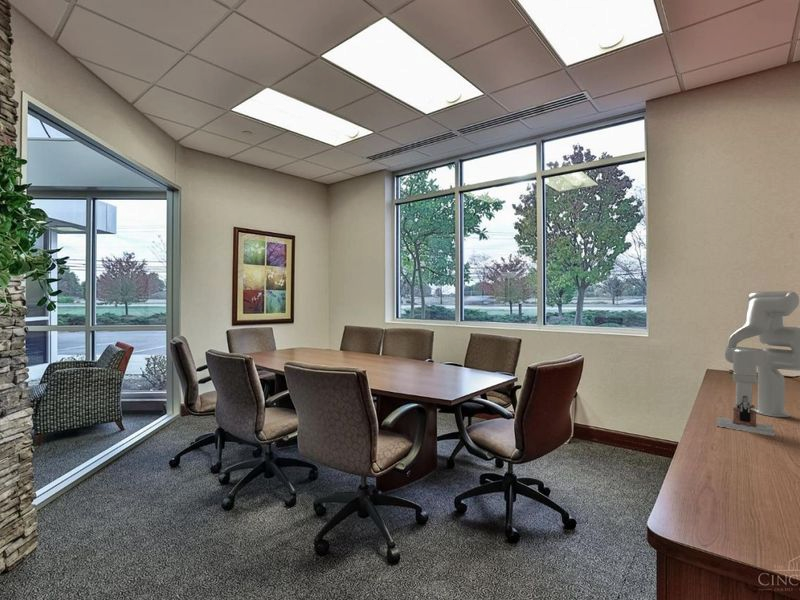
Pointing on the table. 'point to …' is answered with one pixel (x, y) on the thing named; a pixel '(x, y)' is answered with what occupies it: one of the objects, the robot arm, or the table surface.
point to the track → (746, 427)
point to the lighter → (737, 421)
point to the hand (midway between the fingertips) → (744, 418)
